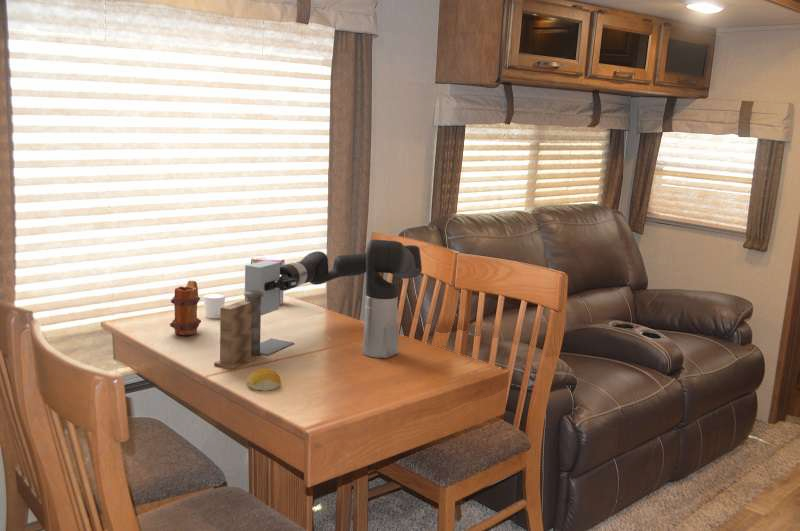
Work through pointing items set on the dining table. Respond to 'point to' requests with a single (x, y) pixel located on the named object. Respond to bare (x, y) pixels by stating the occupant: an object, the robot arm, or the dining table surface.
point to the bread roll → (264, 380)
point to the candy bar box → (282, 261)
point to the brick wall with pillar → (240, 331)
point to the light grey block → (263, 283)
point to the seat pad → (273, 346)
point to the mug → (186, 309)
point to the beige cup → (213, 305)
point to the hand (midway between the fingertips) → (257, 285)
